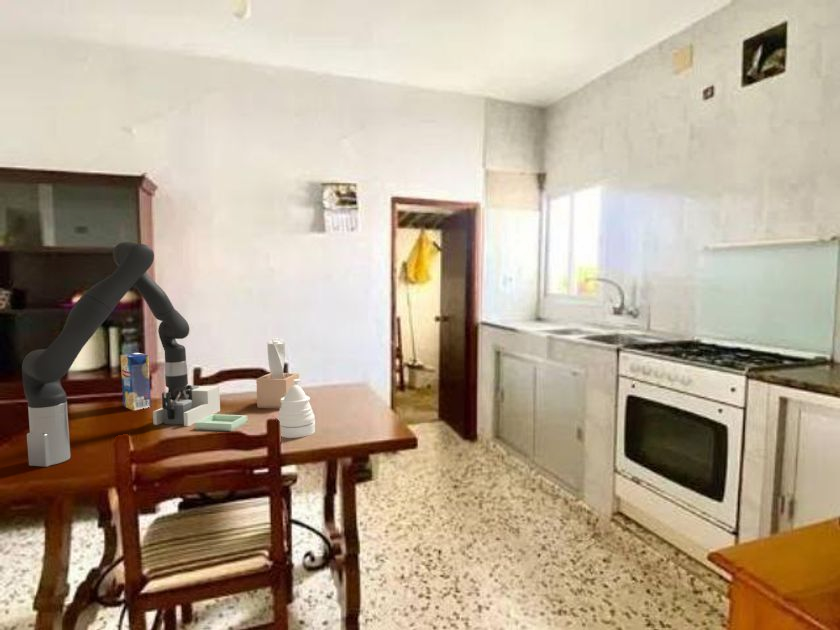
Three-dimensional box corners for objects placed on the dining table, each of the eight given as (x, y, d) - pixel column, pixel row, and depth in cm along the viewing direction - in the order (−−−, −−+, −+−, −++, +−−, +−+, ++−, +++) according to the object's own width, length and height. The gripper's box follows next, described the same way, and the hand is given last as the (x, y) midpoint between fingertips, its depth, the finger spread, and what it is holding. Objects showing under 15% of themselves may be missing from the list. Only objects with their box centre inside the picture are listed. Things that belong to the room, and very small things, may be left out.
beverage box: (140, 402, 219) (137, 352, 217) (151, 407, 212) (148, 355, 210) (123, 406, 214) (120, 354, 212) (133, 410, 207) (130, 357, 205)
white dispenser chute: (187, 426, 184) (186, 397, 183) (153, 424, 187) (152, 395, 186) (220, 410, 205) (219, 384, 204) (188, 409, 207) (187, 383, 206)
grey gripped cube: (184, 424, 187) (183, 403, 186) (164, 423, 188) (162, 402, 187) (192, 420, 192) (191, 399, 191) (173, 419, 193) (172, 399, 192)
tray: (231, 431, 178) (231, 424, 178) (195, 429, 180) (195, 422, 180) (247, 422, 189) (247, 415, 189) (213, 420, 191) (212, 414, 191)
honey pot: (286, 425, 184) (285, 376, 183) (320, 427, 182) (319, 377, 180) (270, 436, 171) (268, 384, 170) (306, 438, 169) (305, 385, 168)
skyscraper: (286, 405, 211) (284, 338, 208) (266, 405, 211) (264, 338, 208) (290, 400, 219) (289, 336, 217) (272, 400, 219) (270, 336, 217)
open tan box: (286, 408, 207) (286, 379, 206) (257, 407, 210) (256, 378, 209) (299, 400, 220) (298, 373, 219) (271, 399, 222) (270, 372, 221)
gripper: (172, 377, 181) (175, 422, 182) (197, 369, 195) (199, 411, 196) (154, 376, 182) (156, 421, 183) (179, 369, 196) (181, 410, 197)
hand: (178, 416), depth 190 cm, fingers open, 8 cm apart
